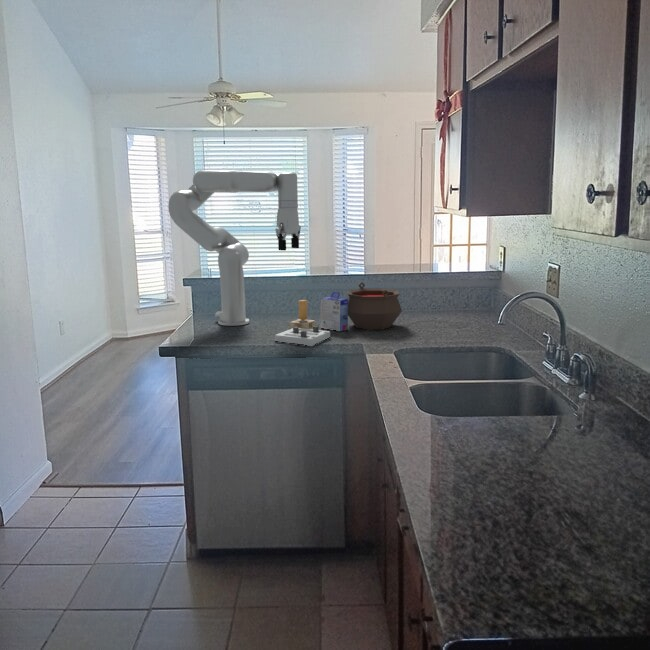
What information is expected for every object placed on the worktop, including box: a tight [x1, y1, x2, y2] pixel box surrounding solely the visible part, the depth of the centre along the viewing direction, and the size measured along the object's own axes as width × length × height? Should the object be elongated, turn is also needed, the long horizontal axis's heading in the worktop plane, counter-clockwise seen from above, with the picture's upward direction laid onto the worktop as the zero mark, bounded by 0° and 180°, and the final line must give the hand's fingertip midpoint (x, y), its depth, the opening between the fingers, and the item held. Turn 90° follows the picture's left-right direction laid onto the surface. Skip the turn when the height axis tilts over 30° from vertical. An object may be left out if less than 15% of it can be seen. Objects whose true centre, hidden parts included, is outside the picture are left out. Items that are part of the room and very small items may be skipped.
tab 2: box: [298, 331, 309, 338], centre depth 232 cm, size 4×2×3 cm, turn 62°
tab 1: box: [290, 327, 301, 334], centre depth 239 cm, size 4×2×3 cm, turn 62°
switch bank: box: [274, 328, 331, 347], centre depth 238 cm, size 15×14×3 cm
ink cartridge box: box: [319, 291, 349, 332], centre depth 254 cm, size 10×6×14 cm, turn 53°
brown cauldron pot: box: [346, 281, 403, 330], centre depth 259 cm, size 24×24×16 cm
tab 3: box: [310, 325, 321, 333], centre depth 240 cm, size 4×2×3 cm, turn 62°
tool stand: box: [289, 318, 316, 330], centre depth 251 cm, size 7×7×4 cm
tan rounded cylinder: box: [298, 299, 308, 322], centre depth 250 cm, size 3×3×12 cm
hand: (288, 249), depth 258 cm, fingers open, 9 cm apart
